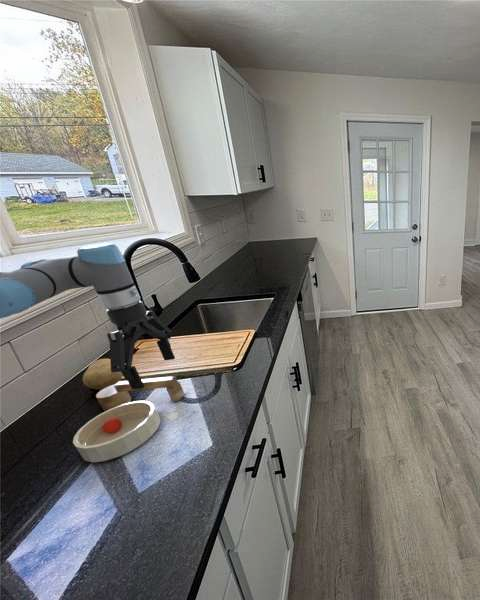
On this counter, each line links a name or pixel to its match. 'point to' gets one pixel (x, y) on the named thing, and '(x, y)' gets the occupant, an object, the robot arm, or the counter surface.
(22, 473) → the counter surface
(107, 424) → the tomato
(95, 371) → the potato
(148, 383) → the ladle
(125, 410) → the bowl
